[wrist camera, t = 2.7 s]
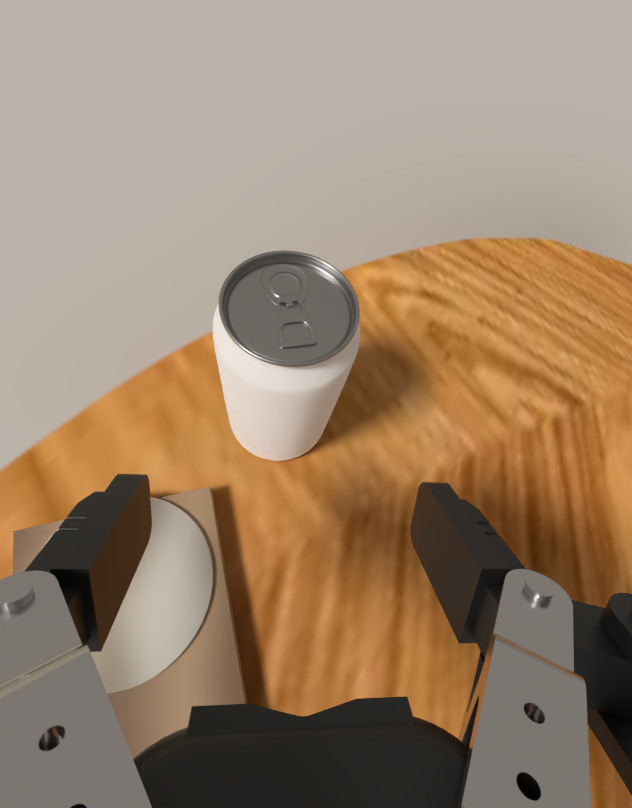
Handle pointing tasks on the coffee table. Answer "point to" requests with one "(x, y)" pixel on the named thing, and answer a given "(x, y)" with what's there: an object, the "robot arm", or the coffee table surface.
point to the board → (166, 622)
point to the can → (284, 349)
